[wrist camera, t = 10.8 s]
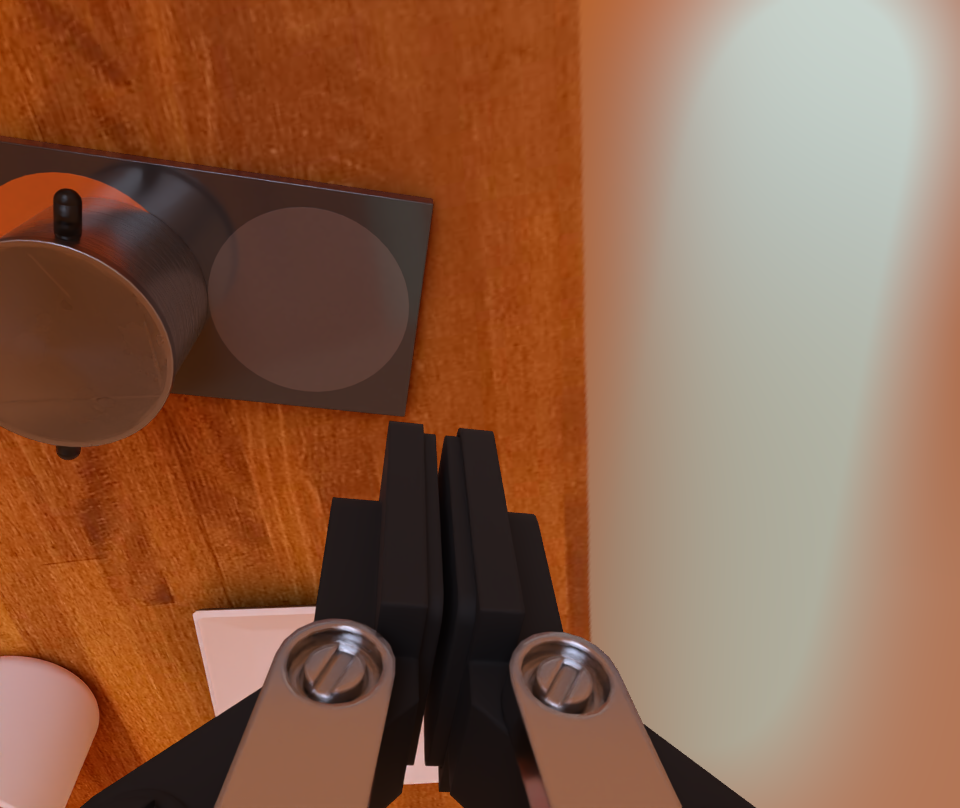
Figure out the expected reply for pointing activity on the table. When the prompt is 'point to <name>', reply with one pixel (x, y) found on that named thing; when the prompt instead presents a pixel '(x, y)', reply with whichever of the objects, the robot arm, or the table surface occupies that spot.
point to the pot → (93, 321)
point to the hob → (265, 271)
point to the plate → (261, 658)
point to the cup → (42, 732)
